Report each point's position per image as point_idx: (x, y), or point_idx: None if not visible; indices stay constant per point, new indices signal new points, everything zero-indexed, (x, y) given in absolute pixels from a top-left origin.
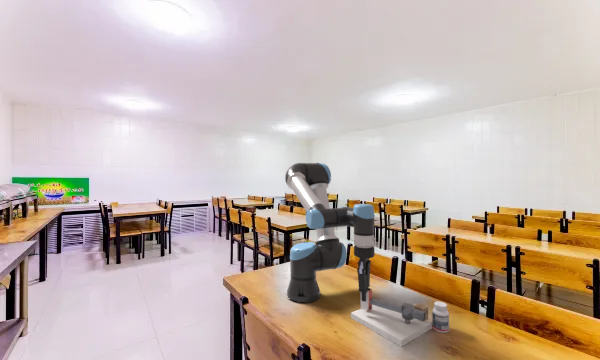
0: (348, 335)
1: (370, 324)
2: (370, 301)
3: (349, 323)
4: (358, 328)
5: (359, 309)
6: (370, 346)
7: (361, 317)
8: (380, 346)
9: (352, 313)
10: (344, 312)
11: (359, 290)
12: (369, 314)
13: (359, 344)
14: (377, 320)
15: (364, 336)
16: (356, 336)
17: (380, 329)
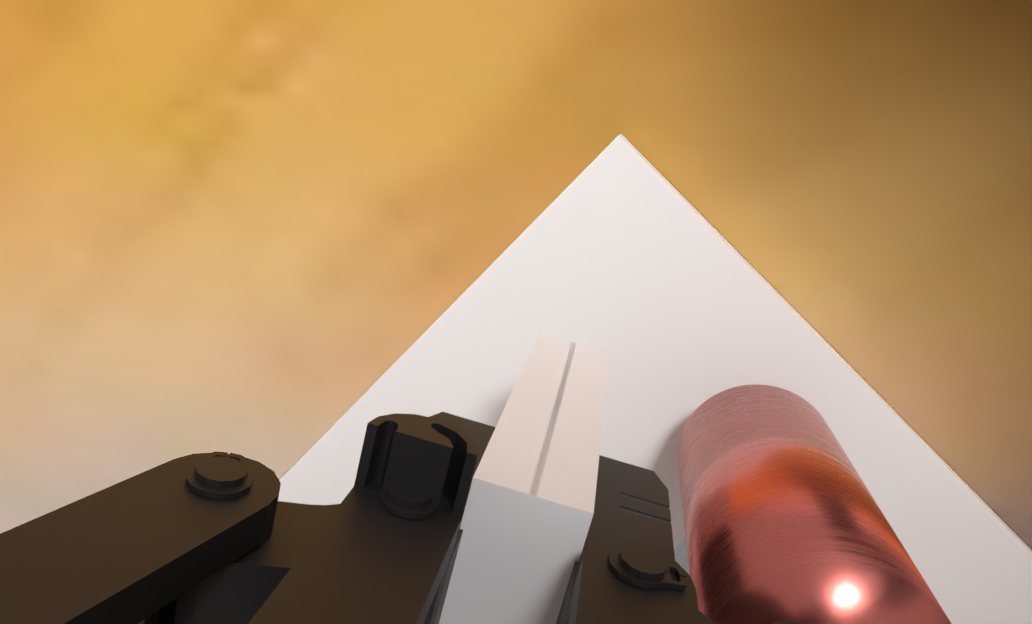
0: (149, 105)
1: (334, 424)
2: (685, 570)
3: (452, 113)
4: (344, 244)
5: (766, 295)
6: (12, 362)
7: (484, 312)
8: (44, 466)
9: (594, 165)
10: (808, 15)
11: (147, 483)
12: (603, 445)
13: (9, 242)
14: None
15: (180, 311)
16: (155, 211)
17: None
